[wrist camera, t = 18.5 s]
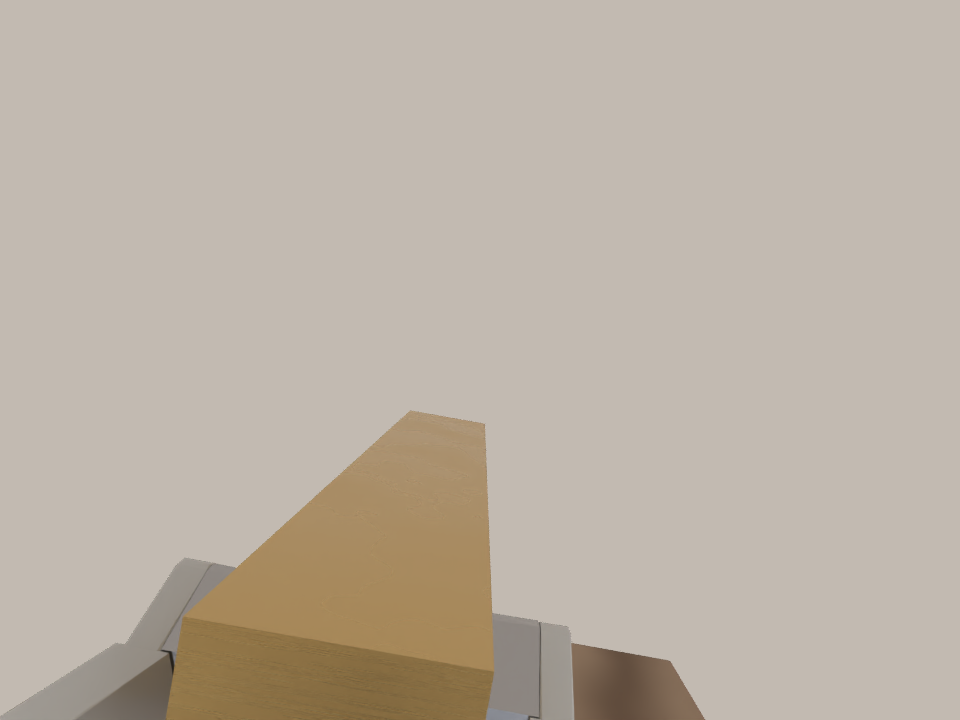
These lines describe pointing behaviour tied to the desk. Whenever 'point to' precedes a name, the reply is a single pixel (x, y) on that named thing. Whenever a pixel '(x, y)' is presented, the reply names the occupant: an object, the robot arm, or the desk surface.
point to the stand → (627, 687)
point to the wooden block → (358, 596)
